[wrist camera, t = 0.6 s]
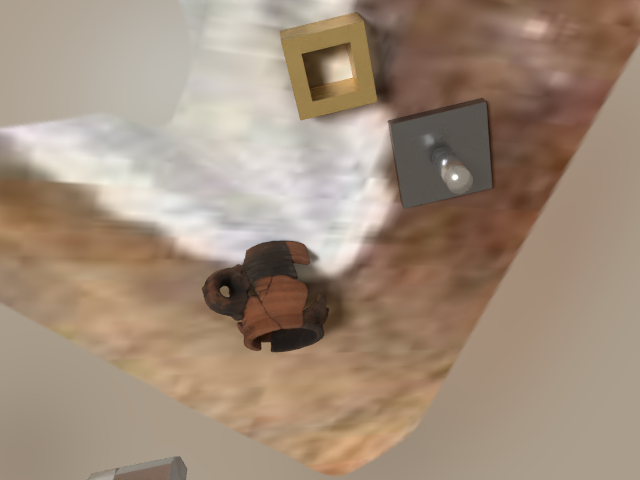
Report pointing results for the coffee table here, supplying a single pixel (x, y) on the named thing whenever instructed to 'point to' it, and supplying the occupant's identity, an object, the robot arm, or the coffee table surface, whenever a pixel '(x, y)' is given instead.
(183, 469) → the robot arm
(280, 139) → the coffee table surface
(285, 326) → the pottery mug
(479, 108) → the post
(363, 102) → the wooden square frame
